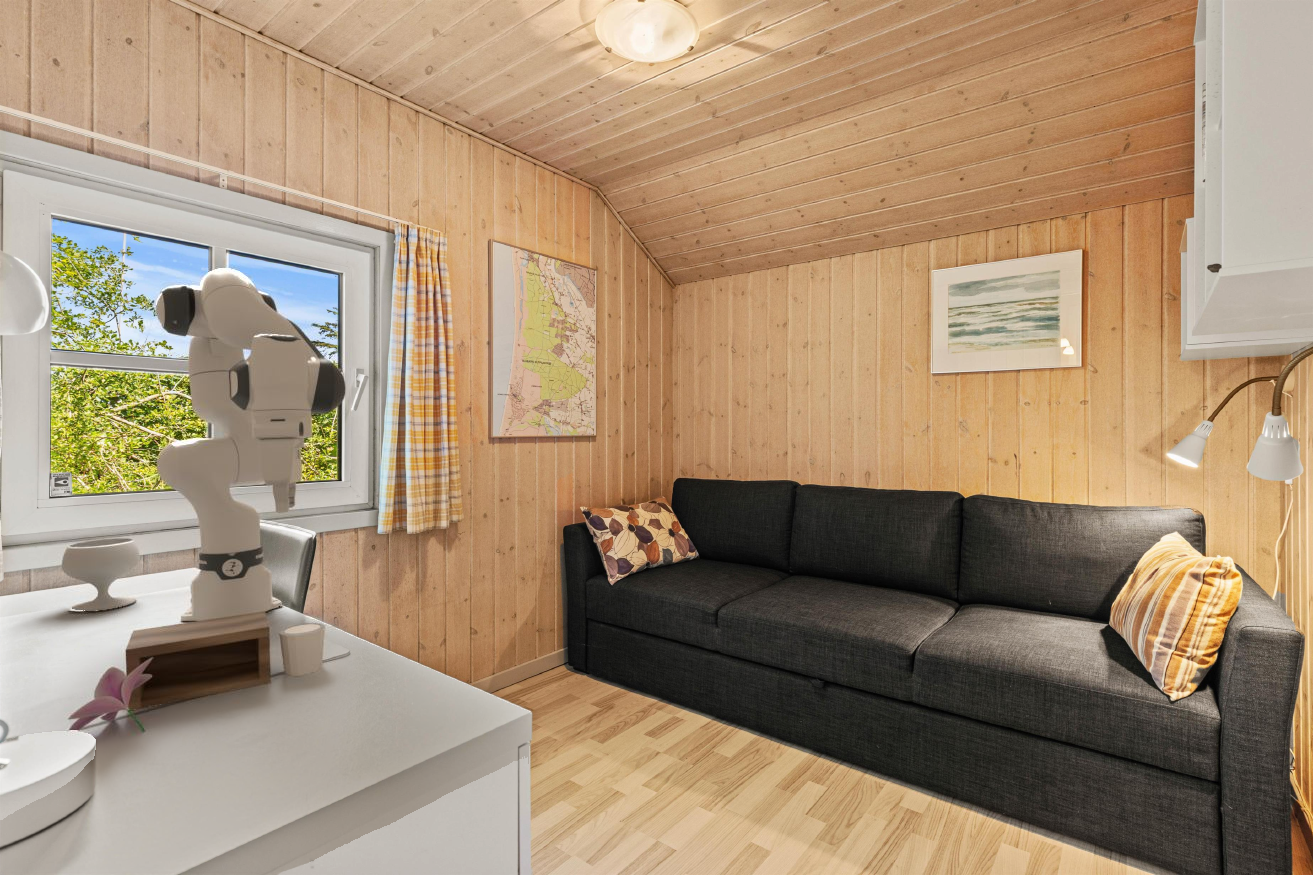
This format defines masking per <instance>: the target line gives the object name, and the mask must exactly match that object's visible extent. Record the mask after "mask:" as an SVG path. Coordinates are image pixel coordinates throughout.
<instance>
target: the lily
mask: <svg viewBox="0 0 1313 875" xmlns="http://www.w3.org/2000/svg"><path fill="white" fill-rule="evenodd" d="M152 659H153V657H152V658H150V659H148V660H147V661H145V662H144V663H142V664H141V665H140V666H138V667H137V668H136V669H135V670H133V671H132V672H131V673H130V674H129V675H128V676H126V672H124V671H123V670H121V669H120V668H118V667H115V666H111V667H109V668H108V669H107V670H106V671H105V672H104V673H103V674H102V676H101V677H100V679H99V681H98V683H97V684H96V687H95V690H94V694H93V695H94V696H93V697H94V699H92V700H90V701H89V702H87V703H86V704H84V705H83V706H81V707H80V708H79V709H77V710H76V711H75V712H73V713H72V714H71V715H69V717H68V718H67V720H76V721H75V722H74V723H72V724H71V726H70V727H69V729H68V730H78V732H79V731H81V730H82V729H83V728H84V727H85V726H87V725H89V724H90V723H92V722H93V721H94V720H97V719H98V718H100V719H101V720H103V721H105V722H110V723H111V721H112V722H114V721H113V720H116V717H117V715H118V713H119V712H120V711H126V712H127V713H128V714H129V715H130V716H131V718H133V720H134V722H136V724H137V725H138V727H139V728H140V730H141V732H143V733H145V732H146V729H145V728H144V726H143V725H142V723H141V722H140V720H139V719H138V718H137V717H136V715H135V714H134V712H133V711H131V710H130V709H129V708H128V704H129V700H130V696H131V693H132V691H133V690H134V689H136V688H137V687H139V686H140V685H142V684H143V683H145V682H146V681H148V680H149V679H150V678H151V677H152V675H150V674H141V673H142V672H143V671H144V669H145V668H146V667H147V665H148V664H149V663H150V661H151V660H152Z"/></svg>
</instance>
